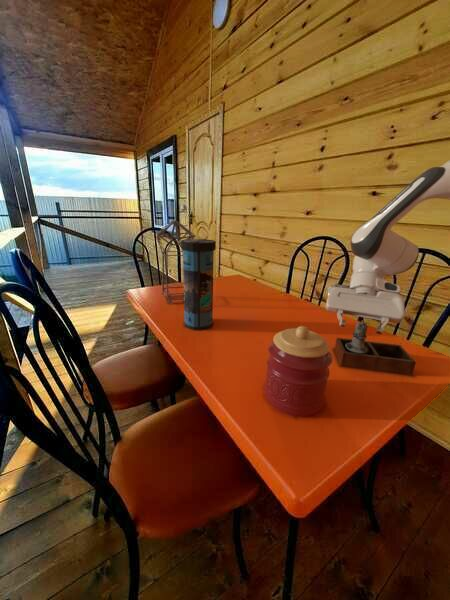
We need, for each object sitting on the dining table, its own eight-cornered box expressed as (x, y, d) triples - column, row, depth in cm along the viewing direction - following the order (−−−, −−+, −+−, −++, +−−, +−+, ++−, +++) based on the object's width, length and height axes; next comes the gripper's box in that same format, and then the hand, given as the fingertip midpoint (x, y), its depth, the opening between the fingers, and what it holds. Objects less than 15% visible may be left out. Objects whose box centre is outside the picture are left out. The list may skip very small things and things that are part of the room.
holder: (396, 358, 75) (400, 344, 73) (411, 377, 66) (416, 362, 65) (334, 350, 78) (336, 337, 76) (340, 367, 69) (343, 352, 68)
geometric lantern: (196, 306, 110) (196, 222, 98) (159, 308, 107) (154, 221, 95) (192, 295, 125) (191, 220, 113) (159, 296, 121) (155, 219, 109)
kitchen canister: (280, 373, 66) (288, 310, 60) (331, 395, 58) (345, 326, 53) (252, 399, 57) (258, 327, 51) (309, 430, 49) (323, 350, 43)
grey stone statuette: (369, 360, 72) (379, 321, 68) (358, 366, 69) (368, 326, 65) (350, 351, 76) (358, 314, 72) (338, 356, 73) (346, 318, 69)
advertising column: (191, 334, 85) (189, 243, 75) (178, 322, 94) (175, 239, 84) (219, 327, 90) (222, 242, 81) (205, 316, 99) (205, 238, 89)
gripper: (329, 278, 78) (321, 318, 73) (408, 287, 71) (405, 333, 65) (328, 288, 84) (320, 326, 79) (401, 298, 76) (398, 341, 71)
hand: (359, 329), depth 72 cm, fingers open, 8 cm apart
